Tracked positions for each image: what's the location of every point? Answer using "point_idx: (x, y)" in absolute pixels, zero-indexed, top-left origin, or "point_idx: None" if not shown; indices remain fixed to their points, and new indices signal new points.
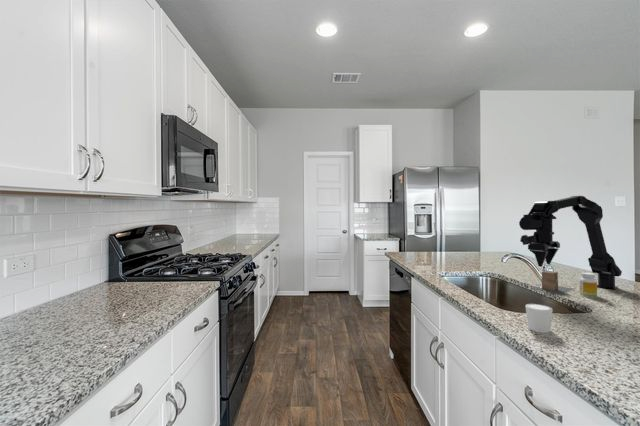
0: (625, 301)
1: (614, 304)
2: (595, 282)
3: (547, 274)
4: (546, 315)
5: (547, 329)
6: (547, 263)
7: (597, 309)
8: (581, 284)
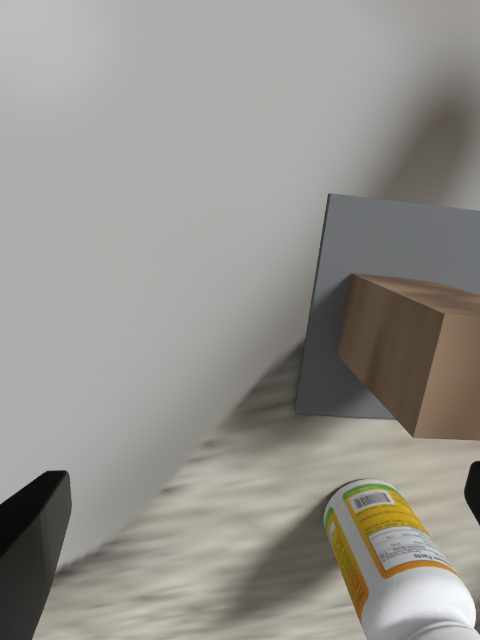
0: None
1: (265, 618)
2: None
3: (415, 366)
4: None
5: None
6: (473, 477)
7: (81, 601)
8: (367, 560)
